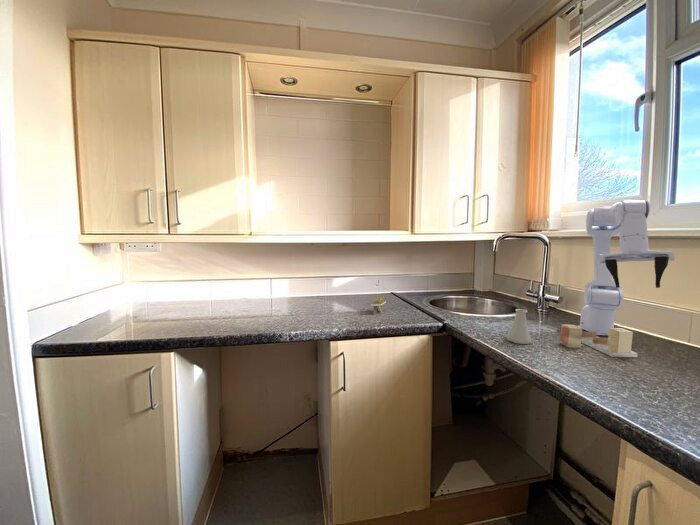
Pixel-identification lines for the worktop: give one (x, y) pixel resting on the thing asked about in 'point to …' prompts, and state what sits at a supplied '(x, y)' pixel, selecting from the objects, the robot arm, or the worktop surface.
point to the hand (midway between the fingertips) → (637, 286)
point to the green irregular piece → (378, 304)
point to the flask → (519, 329)
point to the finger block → (571, 336)
